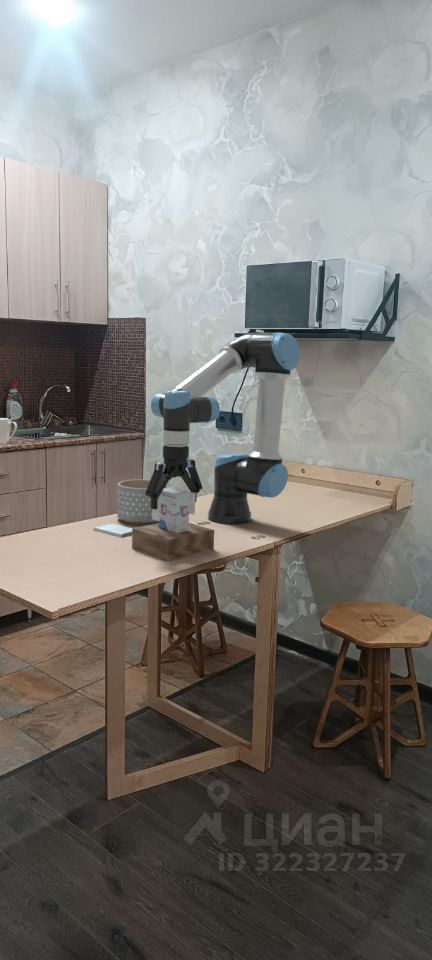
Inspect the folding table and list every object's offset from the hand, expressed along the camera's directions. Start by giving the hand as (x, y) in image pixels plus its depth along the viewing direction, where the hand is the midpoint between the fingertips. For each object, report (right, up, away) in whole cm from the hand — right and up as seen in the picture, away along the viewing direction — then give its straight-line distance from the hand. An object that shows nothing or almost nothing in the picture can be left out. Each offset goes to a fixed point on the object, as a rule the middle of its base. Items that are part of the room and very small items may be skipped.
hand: (173, 516), depth 205 cm
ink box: (0, -4, +1) cm, 4 cm away
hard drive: (-19, -6, +19) cm, 28 cm away
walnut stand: (0, -10, +2) cm, 10 cm away
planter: (-13, -3, +35) cm, 38 cm away
